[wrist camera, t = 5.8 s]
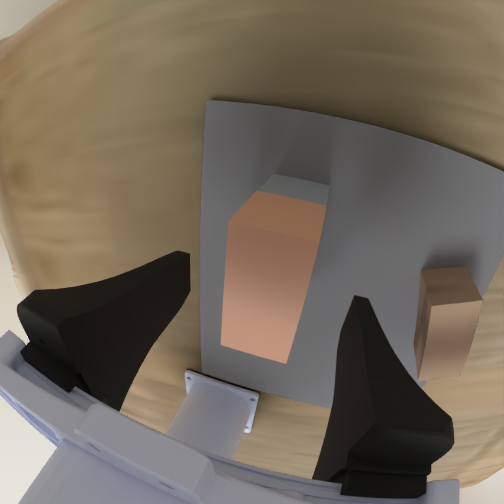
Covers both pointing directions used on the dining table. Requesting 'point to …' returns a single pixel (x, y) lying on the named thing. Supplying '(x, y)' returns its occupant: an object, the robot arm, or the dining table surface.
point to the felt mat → (342, 231)
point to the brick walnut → (445, 322)
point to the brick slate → (297, 188)
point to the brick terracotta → (268, 272)
